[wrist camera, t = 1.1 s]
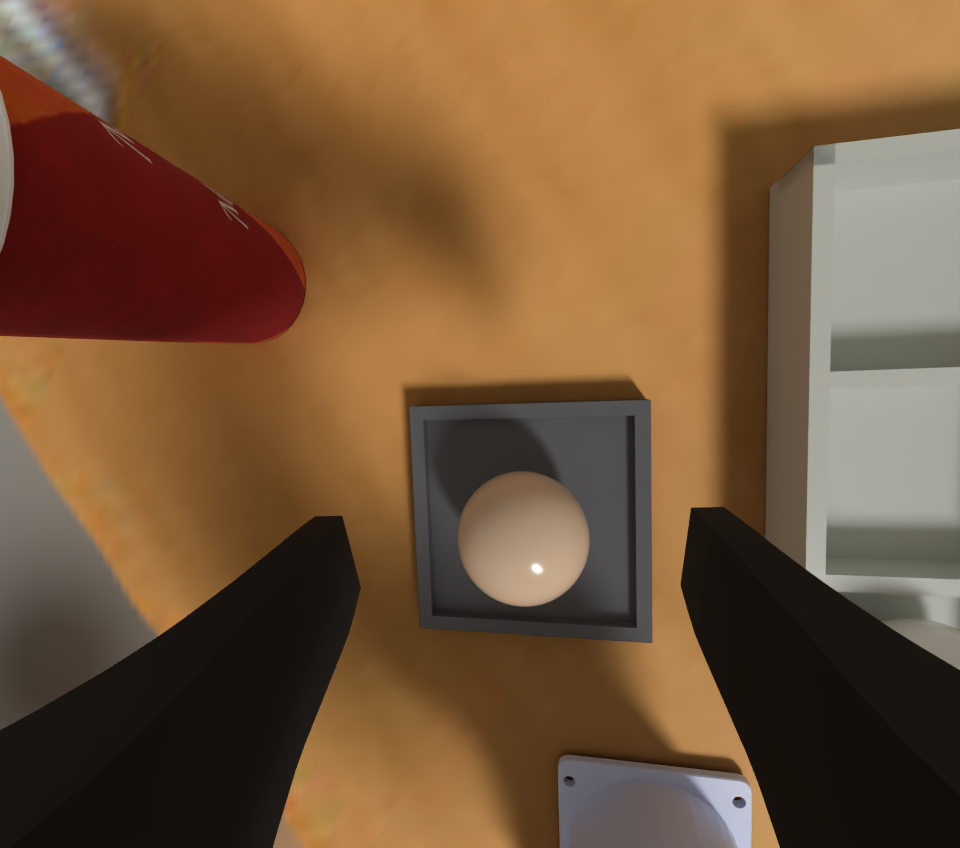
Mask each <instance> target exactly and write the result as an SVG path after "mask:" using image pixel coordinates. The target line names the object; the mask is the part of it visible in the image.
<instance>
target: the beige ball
mask: <svg viewBox="0 0 960 848" xmlns="http://www.w3.org/2000/svg"><path fill="white" fill-rule="evenodd" d="M457 543H458V551H459V555H460V558H461V561H462V564H463V567H464V568H465V570H466V572H467V574H468V576H469V577H470V578H471V580H472V581H473V582H474V583H475V585H476V586H477V587H478V588H479V589H481V590H482V591H483V592H484V593H486V594H487V595H488V596H490V597H491V598H493V599H495V600H497V601H500V602H502V603H505V604H509V605H513V606H521V607H530V606H537V605H541V604H545V603H548V602H550V601H552V600H554V599H556V598H558V597H559V596H561V595H562V594H564V593H565V592H566V591H567V590H569V589H570V588H571V587H572V585H573V584H574V583H575V582H576V581H577V579H578V578H579V576H580V574H581V572H582V571H583V569H584V567H585V564H586V561H587V558H588V553H589V543H590V536H589V528H588V523H587V520H586V517H585V514H584V512H583V510H582V508H581V506H580V504H579V502H578V501H577V499H576V498H575V497H574V495H573V494H572V493H571V492H570V491H569V490H568V489H567V488H566V487H564V486H563V485H562V484H560V483H559V482H557V481H556V480H554V479H552V478H550V477H548V476H546V475H543V474H540V473H535V472H529V471H514V472H509V473H504V474H501V475H498V476H496V477H494V478H492V479H490V480H489V481H487V482H486V483H484V484H483V485H481V486H480V487H479V488H478V489H477V490H476V491H475V492H474V493H473V494H472V496H471V497H470V498H469V500H468V502H467V503H466V505H465V507H464V509H463V511H462V513H461V516H460V520H459V525H458V531H457Z"/></svg>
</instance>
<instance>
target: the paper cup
mask: <svg viewBox="0 0 960 848" xmlns="http://www.w3.org/2000/svg"><path fill="white" fill-rule="evenodd" d="M305 291H306V279H305V272H304V268H303V265H302V262H301V259H300V257H299V255H298V253H297V252H296V250H295V248H294V247H293V246H292V245H291V243H290V242H289V241H288V240H287V239H286V238H285V237H283V236H282V235H281V234H280V233H278V232H277V231H276V230H274V229H273V228H271V227H270V226H269V225H267V224H266V223H264V222H263V221H261V220H260V219H258V218H257V217H255V216H254V215H252V214H250V213H249V212H247V211H246V210H244V209H243V208H241V207H239V206H238V205H236V204H235V203H233V202H232V201H230V200H229V199H227V198H225V197H224V196H222V195H221V194H219V193H218V192H216V191H214V190H213V189H211V188H210V187H208V186H207V185H205V184H203V183H202V182H200V181H199V180H197V179H195V178H194V177H192V176H191V175H189V174H188V173H186V172H184V171H183V170H181V169H180V168H178V167H176V166H175V165H173V164H172V163H170V162H169V161H167V160H165V159H164V158H162V157H161V156H159V155H157V154H156V153H154V152H153V151H151V150H149V149H148V148H146V147H145V146H143V145H141V144H140V143H138V142H137V141H135V140H134V139H132V138H130V137H129V136H127V135H126V134H124V133H122V132H121V131H119V130H118V129H116V128H114V127H113V126H111V125H110V124H108V123H106V122H105V121H103V120H102V119H100V118H98V117H97V116H95V115H94V114H92V113H91V112H89V111H87V110H86V109H84V108H83V107H81V106H79V105H78V104H76V103H75V102H73V101H71V100H70V99H68V98H67V97H65V96H63V95H62V94H60V93H59V92H57V91H56V90H54V89H52V88H51V87H49V86H48V85H46V84H44V83H43V82H41V81H40V80H38V79H36V78H35V77H33V76H32V75H30V74H28V73H27V72H25V71H24V70H22V69H21V68H19V67H17V66H16V65H14V64H13V63H11V62H9V61H8V60H6V59H5V58H3V57H1V56H0V336H20V337H48V338H75V339H102V340H130V341H160V342H190V343H228V344H247V343H261V342H266V341H269V340H272V339H274V338H276V337H278V336H280V335H281V334H283V333H284V332H285V331H287V330H288V329H289V328H290V327H291V325H292V324H293V323H294V322H295V320H296V319H297V317H298V315H299V313H300V311H301V308H302V306H303V302H304V298H305Z"/></svg>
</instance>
